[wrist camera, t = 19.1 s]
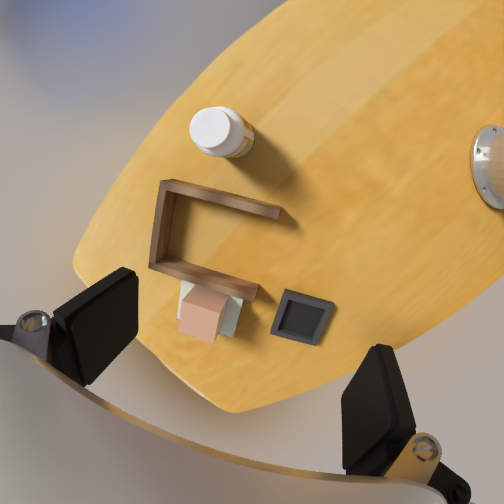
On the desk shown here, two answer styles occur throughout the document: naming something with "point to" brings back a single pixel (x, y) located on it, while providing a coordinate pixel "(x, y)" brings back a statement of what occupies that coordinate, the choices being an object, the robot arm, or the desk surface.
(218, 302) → the terracotta cube
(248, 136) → the supplement bottle
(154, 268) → the wooden tray frame
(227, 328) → the sage tile
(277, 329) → the dark gray rectangular tray
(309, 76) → the desk surface
